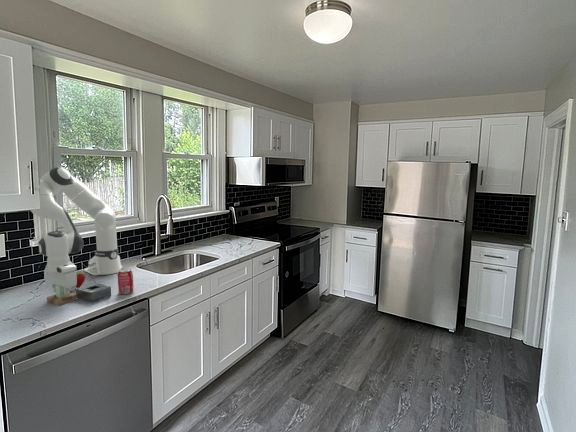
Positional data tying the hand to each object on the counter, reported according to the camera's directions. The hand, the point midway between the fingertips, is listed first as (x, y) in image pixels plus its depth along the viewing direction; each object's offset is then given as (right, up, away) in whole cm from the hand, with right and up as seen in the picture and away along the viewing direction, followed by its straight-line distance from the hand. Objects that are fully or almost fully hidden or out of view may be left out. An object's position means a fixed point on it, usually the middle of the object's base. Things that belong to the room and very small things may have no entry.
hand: (61, 293), depth 159 cm
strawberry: (-3, -1, +17) cm, 18 cm away
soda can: (+25, -3, +13) cm, 28 cm away
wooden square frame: (0, -4, 0) cm, 4 cm away
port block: (+13, -3, +5) cm, 14 cm away
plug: (0, -4, +1) cm, 4 cm away
